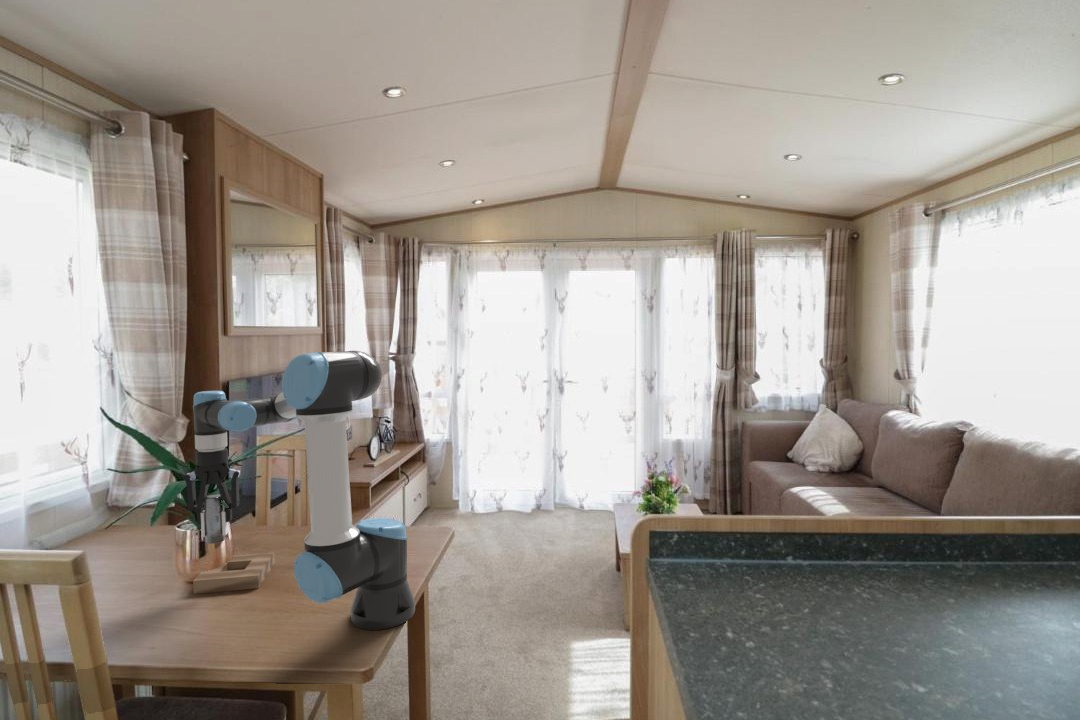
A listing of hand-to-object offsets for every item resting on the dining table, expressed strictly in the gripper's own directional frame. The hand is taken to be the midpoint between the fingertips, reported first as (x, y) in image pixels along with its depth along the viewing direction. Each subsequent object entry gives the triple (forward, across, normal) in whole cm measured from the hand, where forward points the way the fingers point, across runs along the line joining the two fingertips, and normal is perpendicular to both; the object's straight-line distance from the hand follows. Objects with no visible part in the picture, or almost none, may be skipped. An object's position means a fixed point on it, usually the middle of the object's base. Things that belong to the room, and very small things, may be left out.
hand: (215, 534), depth 152 cm
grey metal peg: (+2, 0, 0) cm, 2 cm away
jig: (+14, -3, -5) cm, 16 cm away
